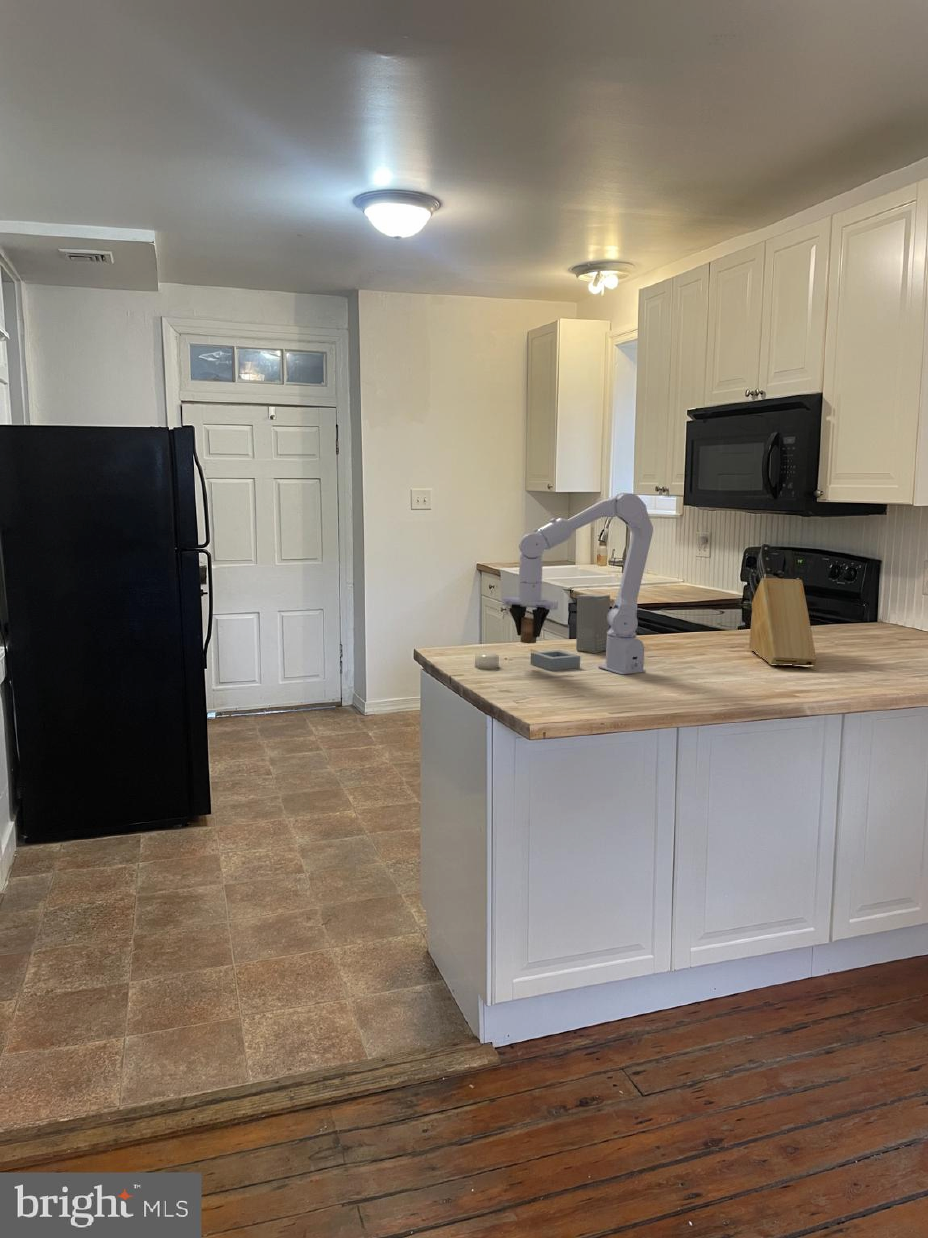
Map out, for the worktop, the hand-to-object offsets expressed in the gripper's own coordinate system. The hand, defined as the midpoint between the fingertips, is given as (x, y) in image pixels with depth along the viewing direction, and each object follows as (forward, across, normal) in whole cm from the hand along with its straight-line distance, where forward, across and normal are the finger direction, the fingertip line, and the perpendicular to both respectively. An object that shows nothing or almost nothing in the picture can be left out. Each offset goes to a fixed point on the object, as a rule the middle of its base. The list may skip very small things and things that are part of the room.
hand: (528, 635), depth 225 cm
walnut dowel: (+2, 0, 0) cm, 2 cm away
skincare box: (+8, -4, -32) cm, 33 cm away
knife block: (+8, -49, -55) cm, 74 cm away
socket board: (+8, -5, -6) cm, 11 cm away
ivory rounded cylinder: (+8, +9, +6) cm, 13 cm away
